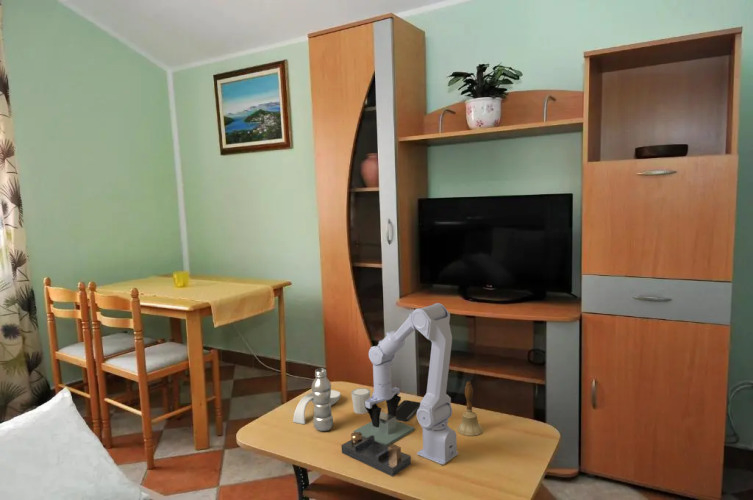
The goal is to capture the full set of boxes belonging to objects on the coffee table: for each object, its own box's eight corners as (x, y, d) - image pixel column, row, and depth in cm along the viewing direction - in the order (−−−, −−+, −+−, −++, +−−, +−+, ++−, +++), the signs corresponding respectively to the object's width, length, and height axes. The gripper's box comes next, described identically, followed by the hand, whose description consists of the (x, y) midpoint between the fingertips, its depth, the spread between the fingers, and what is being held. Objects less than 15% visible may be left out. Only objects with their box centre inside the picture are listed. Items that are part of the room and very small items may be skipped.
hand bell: (456, 435, 157) (455, 386, 155) (458, 423, 165) (457, 376, 163) (482, 437, 155) (482, 388, 153) (483, 425, 163) (483, 378, 161)
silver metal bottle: (324, 435, 160) (321, 375, 157) (309, 430, 164) (306, 371, 161) (337, 427, 165) (335, 369, 162) (322, 422, 169) (320, 365, 167)
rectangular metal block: (396, 429, 160) (395, 416, 159) (388, 434, 157) (387, 421, 156) (379, 423, 165) (379, 410, 164) (371, 428, 162) (371, 415, 161)
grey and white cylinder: (348, 412, 176) (347, 393, 175) (357, 405, 182) (357, 386, 181) (365, 416, 173) (364, 396, 172) (374, 408, 179) (373, 389, 178)
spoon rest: (319, 396, 192) (318, 378, 191) (346, 400, 187) (345, 381, 187) (284, 422, 171) (283, 402, 170) (314, 427, 166) (313, 406, 165)
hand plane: (411, 464, 141) (410, 444, 140) (392, 476, 135) (392, 455, 134) (360, 442, 154) (359, 424, 153) (341, 453, 148) (340, 433, 148)
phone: (424, 403, 180) (407, 420, 167) (424, 406, 180) (407, 423, 167) (404, 399, 183) (386, 416, 170) (404, 402, 184) (386, 419, 170)
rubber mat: (414, 429, 161) (414, 427, 161) (386, 446, 151) (386, 444, 151) (382, 418, 171) (382, 415, 170) (353, 433, 160) (353, 430, 160)
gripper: (387, 372, 167) (389, 411, 168) (357, 385, 156) (359, 426, 158) (404, 376, 162) (405, 416, 164) (374, 390, 152) (375, 433, 153)
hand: (383, 422), depth 160 cm, fingers open, 7 cm apart
